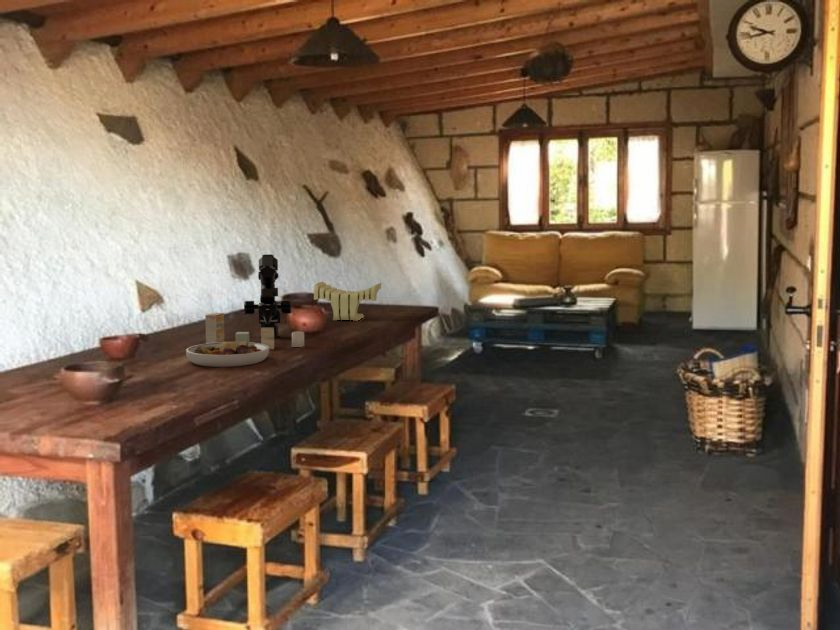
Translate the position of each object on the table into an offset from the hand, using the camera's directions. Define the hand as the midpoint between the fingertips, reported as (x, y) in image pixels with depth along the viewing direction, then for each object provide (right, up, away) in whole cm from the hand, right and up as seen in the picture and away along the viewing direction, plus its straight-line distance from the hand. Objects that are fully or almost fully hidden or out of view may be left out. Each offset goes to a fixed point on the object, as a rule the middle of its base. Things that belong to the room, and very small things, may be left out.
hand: (267, 323), depth 364 cm
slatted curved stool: (+26, +1, +83) cm, 87 cm away
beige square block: (+12, -10, +2) cm, 15 cm away
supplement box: (-22, -9, +5) cm, 24 cm away
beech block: (0, -10, -1) cm, 10 cm away
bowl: (-10, -14, -28) cm, 33 cm away
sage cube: (-11, -9, +7) cm, 16 cm away
